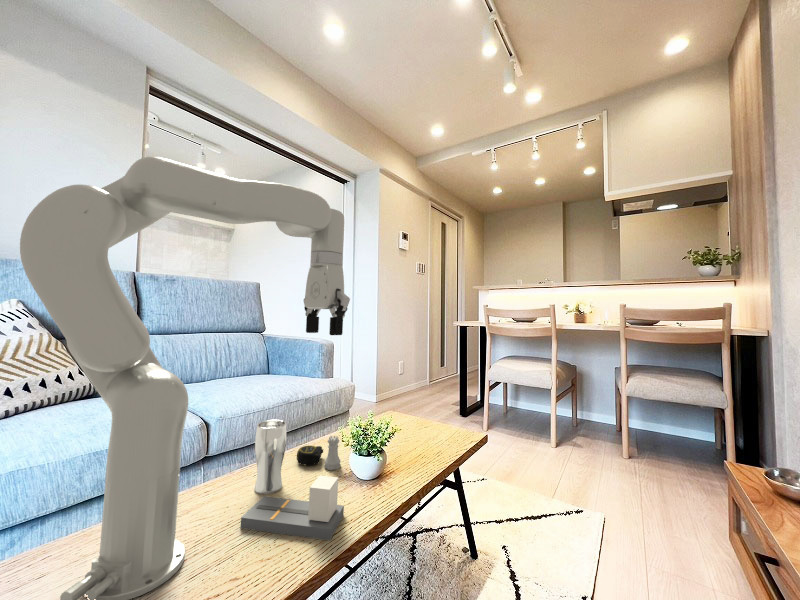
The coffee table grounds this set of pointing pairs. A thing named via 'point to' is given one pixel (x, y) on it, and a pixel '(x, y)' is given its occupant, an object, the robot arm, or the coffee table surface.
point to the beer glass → (269, 455)
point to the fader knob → (323, 498)
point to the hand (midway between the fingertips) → (323, 333)
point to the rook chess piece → (332, 454)
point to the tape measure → (309, 455)
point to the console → (289, 518)
